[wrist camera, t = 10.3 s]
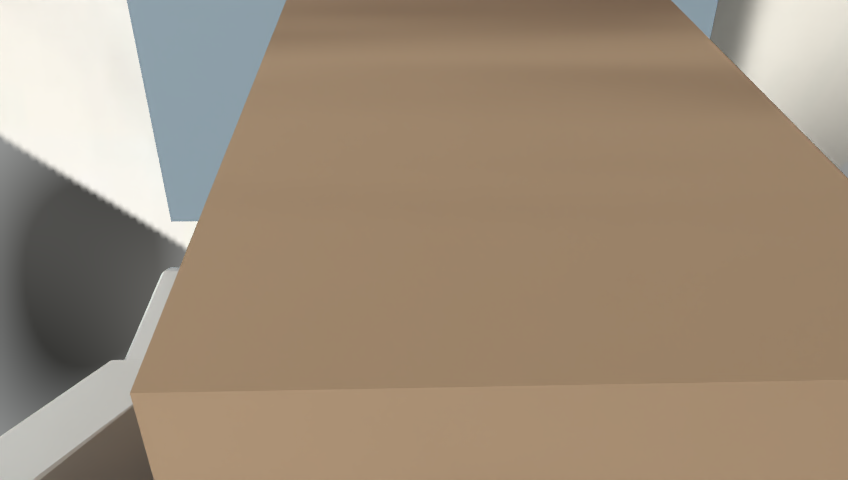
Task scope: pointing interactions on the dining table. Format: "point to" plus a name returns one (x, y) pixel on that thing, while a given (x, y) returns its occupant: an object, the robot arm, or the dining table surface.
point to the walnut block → (505, 260)
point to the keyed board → (220, 81)
